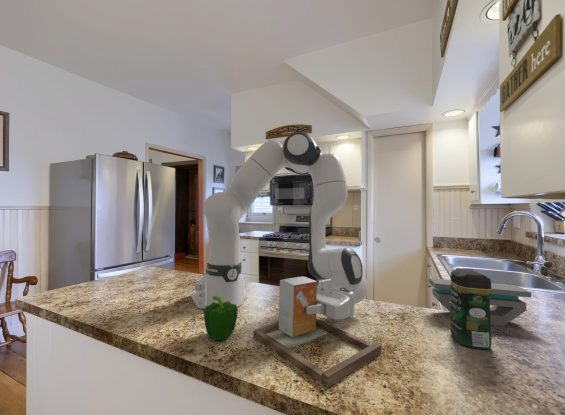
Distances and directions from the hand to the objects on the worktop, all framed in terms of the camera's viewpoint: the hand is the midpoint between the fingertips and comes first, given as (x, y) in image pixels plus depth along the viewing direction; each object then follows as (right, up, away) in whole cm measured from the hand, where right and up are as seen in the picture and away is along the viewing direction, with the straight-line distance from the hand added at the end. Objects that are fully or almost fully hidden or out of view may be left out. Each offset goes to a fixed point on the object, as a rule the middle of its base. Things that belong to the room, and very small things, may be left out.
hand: (295, 306), depth 68 cm
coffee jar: (+45, -9, 0) cm, 46 cm away
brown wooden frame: (+4, -8, -4) cm, 10 cm away
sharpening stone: (+59, -10, +15) cm, 61 cm away
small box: (0, -7, 0) cm, 7 cm away
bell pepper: (-20, -8, -1) cm, 21 cm away
